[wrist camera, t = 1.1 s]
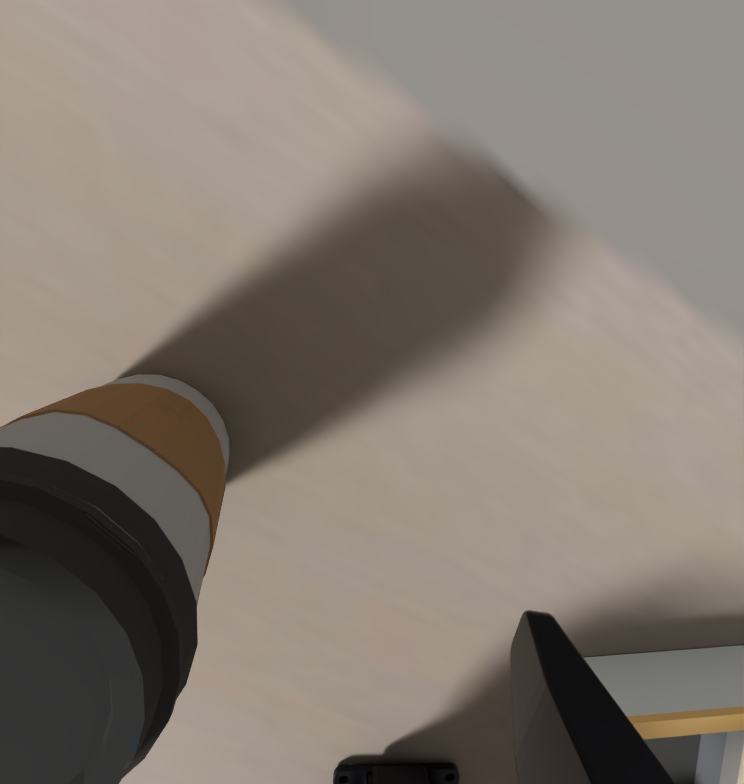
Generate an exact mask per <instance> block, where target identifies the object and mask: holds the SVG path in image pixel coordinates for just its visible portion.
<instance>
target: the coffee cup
mask: <svg viewBox="0 0 744 784" xmlns="http://www.w3.org/2000/svg"><path fill="white" fill-rule="evenodd" d="M228 462H229V438H228V434H227V431H226V427H225V424H224V421H223V420H222V418H221V416H220V415H219V413H218V412H217V410H216V408H215V407H214V405H213V404H212V403H211V402H210V401H209V400H208V399H207V398H205V397H204V396H203V395H202V394H201V393H200V392H199V391H198V390H196V389H194V388H192V387H191V386H189V385H187V384H185V383H184V382H182V381H180V380H177V379H173V378H170V377H166V376H163V375H149V374H138V375H133V376H129V377H125V378H120V379H117V380H115V381H112V382H110V383H108V384H105V385H103V386H100V387H97V388H93V389H89V390H85V391H83V392H80V393H78V394H75V395H73V396H70V397H68V398H66V399H63V400H61V401H58V402H56V403H53V404H51V405H48V406H46V407H43V408H41V409H38V410H36V411H33V412H31V413H28V414H26V415H23V416H21V417H19V418H17V419H15V420H13V421H11V422H9V423H8V424H6V425H4V426H2V427H0V784H119V782H120V781H121V779H122V778H123V777H124V776H125V775H126V774H127V773H129V772H130V771H131V770H132V769H133V768H134V767H135V766H136V765H138V764H139V763H140V762H141V761H142V760H143V759H144V758H145V757H146V755H147V754H148V752H149V751H150V749H151V748H152V746H153V744H154V743H155V741H156V740H157V738H158V737H159V735H160V734H161V732H162V731H163V729H164V728H165V726H166V724H167V723H168V721H169V719H170V717H171V715H172V712H173V709H174V705H175V701H176V699H177V697H178V696H179V694H180V693H181V691H182V690H183V688H184V687H185V685H186V683H187V679H188V676H189V672H190V669H191V665H192V662H193V658H194V655H195V651H196V648H197V644H198V643H197V603H198V598H199V594H200V589H201V585H202V580H203V577H204V576H205V574H206V570H207V566H208V563H209V559H210V556H211V552H212V549H213V545H214V540H215V535H216V530H217V525H218V520H219V516H220V511H221V506H222V501H223V496H224V491H225V476H226V471H227V467H228Z"/></svg>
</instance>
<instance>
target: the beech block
mask: <svg viewBox="0 0 744 784" xmlns="http://www.w3.org/2000/svg"><path fill="white" fill-rule="evenodd" d="M737 784H744V745H743V751H742V757H741V763H740V769H739V775H738V781H737Z"/></svg>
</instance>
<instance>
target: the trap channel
mask: <svg viewBox="0 0 744 784" xmlns="http://www.w3.org/2000/svg"><path fill="white" fill-rule="evenodd" d="M584 659H585V660H586V662H587V663H588V665H589V666H590V667H591V669H592V670H593V671H594V673H595V674H596V675H597V677H598V678H599V680H600V681H601V682H602V684H603V685H604V686H605V688H606V689H607V690H608V692H609V693H610V694H611V696H612V697H613V699H614V700H615V701H616V703H617V704H618V705H619V707H620V708H621V709H622V711H623V712H624V713H625V715H626V716H627V718H628V719H629V720H630V722H631V723H632V724H633V726H634V727H635V728H636V730H637V731H638V732H639V734H640V735H641V737H642V738H643V739H644V741H645V742H646V743H647V745H648V746H649V747H650V749H651V750H652V752H653V753H654V754H655V756H656V757H657V758H658V760H659V761H660V762H661V764H662V765H663V766H664V768H665V769H666V771H667V772H668V773H669V775H670V776H671V777H672V779H673V780H674V781H675V783H676V784H737V781H738V775H739V769H740V763H741V757H742V751H743V745H744V645H740V646H727V647H714V648H701V649H688V650H675V651H662V652H649V653H636V654H623V655H610V656H597V657H584Z"/></svg>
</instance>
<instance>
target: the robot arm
mask: <svg viewBox="0 0 744 784" xmlns="http://www.w3.org/2000/svg"><path fill="white" fill-rule="evenodd" d="M510 660H511V682H512V703H513V725H514V745H515V759H516V767H517V775H518V782H519V784H676V783H675V781H674V780H673V779H672V777H671V776H670V775H669V773H668V772H667V771H666V769H665V768H664V766H663V765H662V764H661V762H660V761H659V760H658V758H657V757H656V756H655V754H654V753H653V752H652V750H651V749H650V747H649V746H648V745H647V743H646V742H645V741H644V739H643V738H642V737H641V735H640V734H639V732H638V731H637V730H636V728H635V727H634V726H633V724H632V723H631V722H630V720H629V719H628V718H627V716H626V715H625V713H624V712H623V711H622V709H621V708H620V707H619V705H618V704H617V703H616V701H615V700H614V699H613V697H612V696H611V694H610V693H609V692H608V690H607V689H606V688H605V686H604V685H603V684H602V682H601V681H600V680H599V678H598V677H597V675H596V674H595V673H594V671H593V670H592V669H591V667H590V666H589V665H588V663H587V662H586V660H585V659H584V658H583V656H582V655H581V654H580V652H579V651H578V650H577V648H576V647H575V646H574V644H573V643H572V641H571V640H570V639H569V637H568V636H567V635H566V633H565V632H564V631H563V629H562V628H561V627H560V625H559V624H558V622H557V621H556V620H555V618H554V617H553V616H552V615H550V614H549V613H544V612H537V611H530V610H528V611H525V612H524V613H523V615H522V617H521V619H520V622H519V625H518V628H517V630H516V633H515V636H514V639H513V642H512V646H511V655H510ZM449 773H451V774H449ZM447 774H449V775H447ZM341 776H345V777H341ZM458 783H459V772H458V769H457V766H456V765H455V764H453V763H409V764H357V765H340V766H338V767H337V768H336V769H335V770H334V776H333V784H458Z"/></svg>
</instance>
